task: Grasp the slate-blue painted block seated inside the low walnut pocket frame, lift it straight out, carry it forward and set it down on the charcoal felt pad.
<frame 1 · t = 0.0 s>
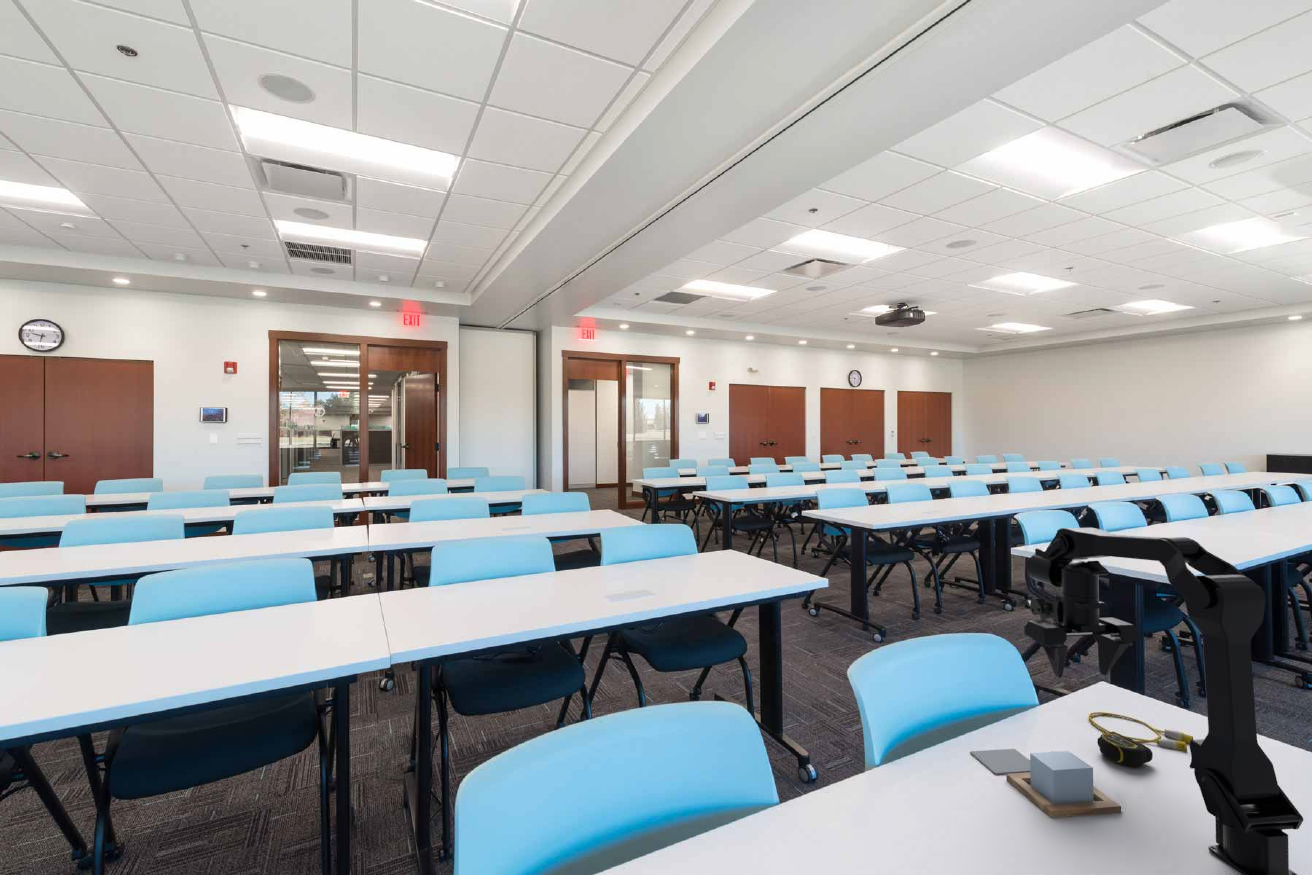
hand: (1080, 675, 107), 15 cm above the table, fingers open, 9 cm apart
pocket frame: (1061, 794, 94), on the table
part block: (1061, 795, 94), resting in pocket frame
tape measure: (1122, 759, 105), on the table
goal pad: (1005, 761, 104), on the table
extension cord: (1136, 735, 114), on the table
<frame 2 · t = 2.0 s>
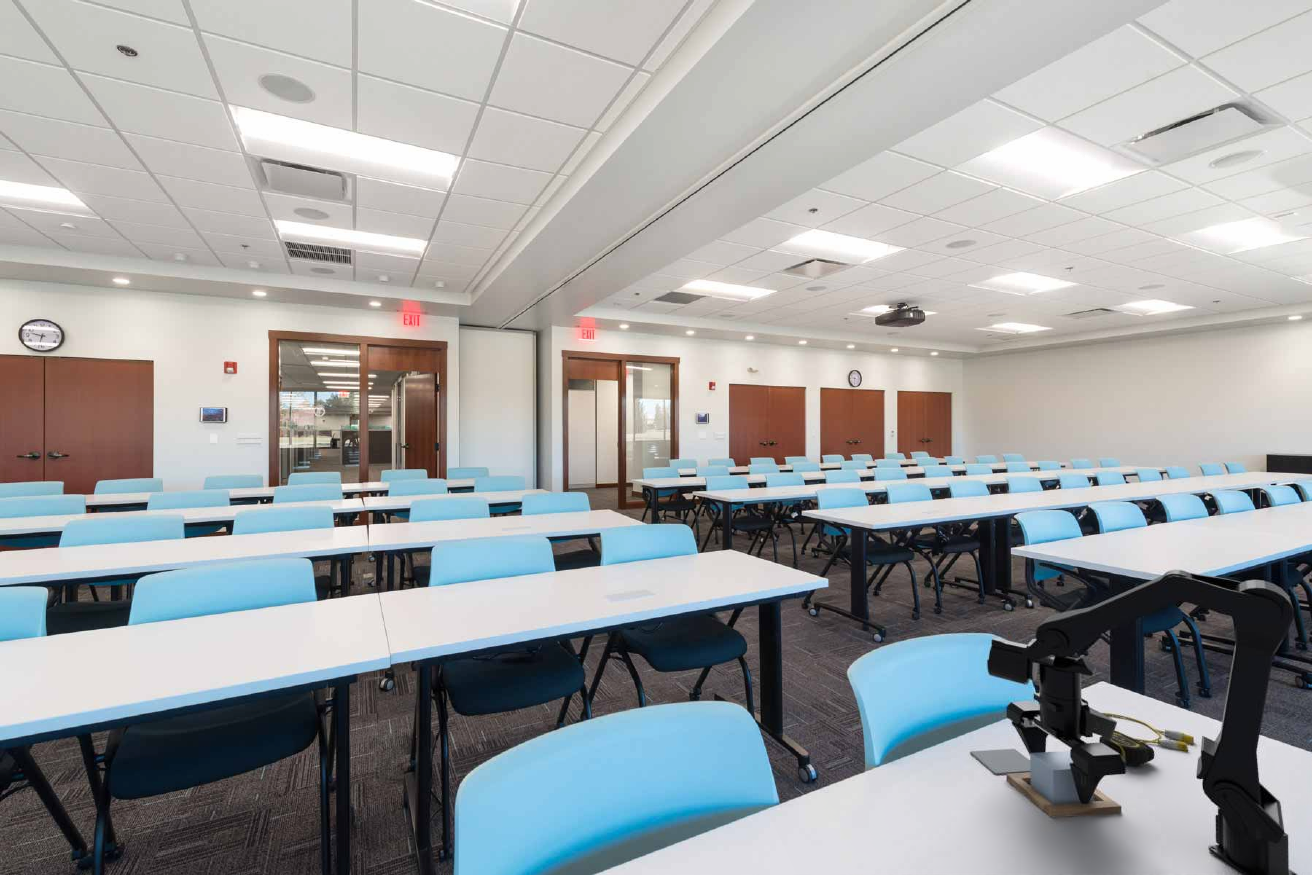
hand: (1061, 785, 94), 2 cm above the table, fingers open, 9 cm apart
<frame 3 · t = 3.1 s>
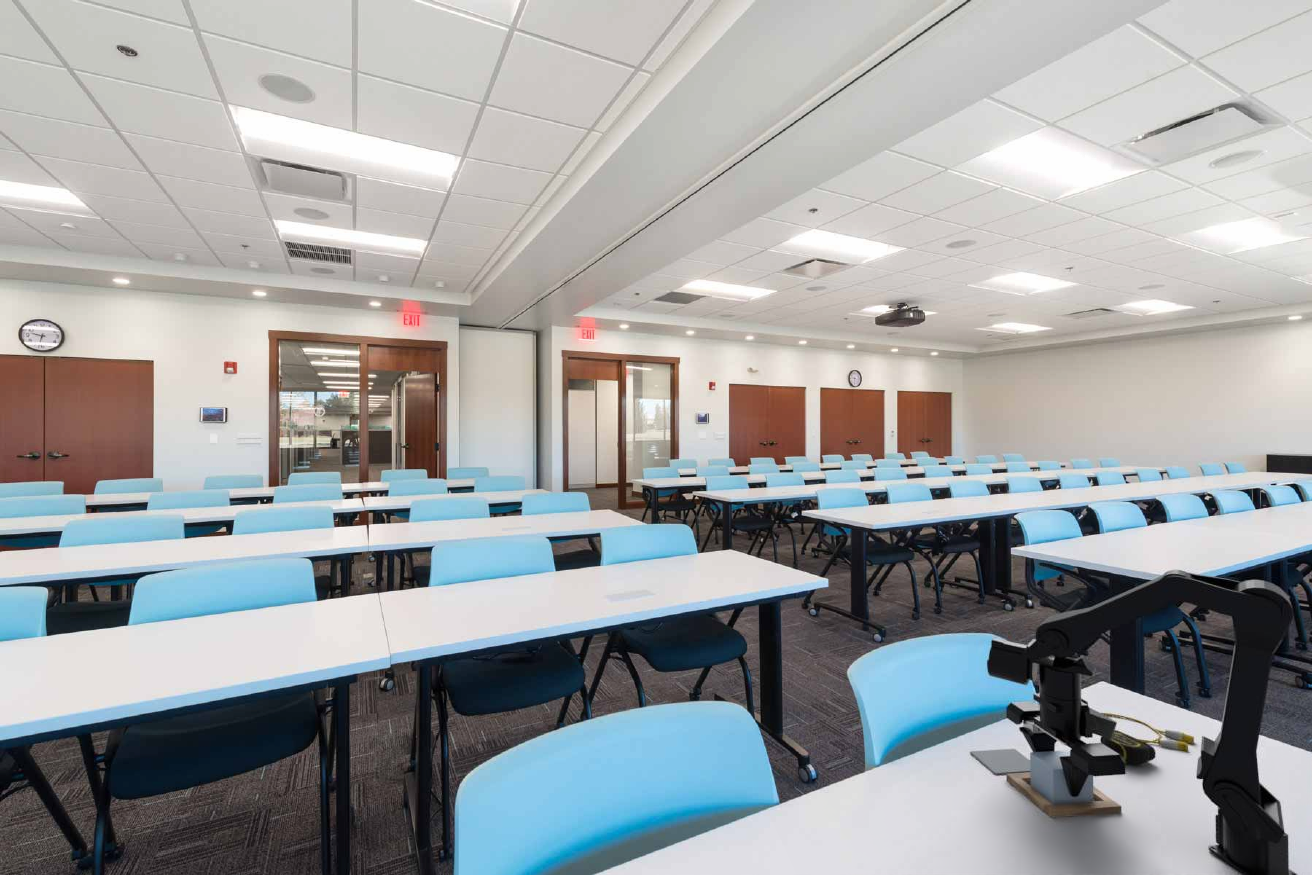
hand: (1061, 785, 94), 2 cm above the table, fingers closed on part block, 5 cm apart
part block: (1061, 795, 94), resting in pocket frame, touching gripper
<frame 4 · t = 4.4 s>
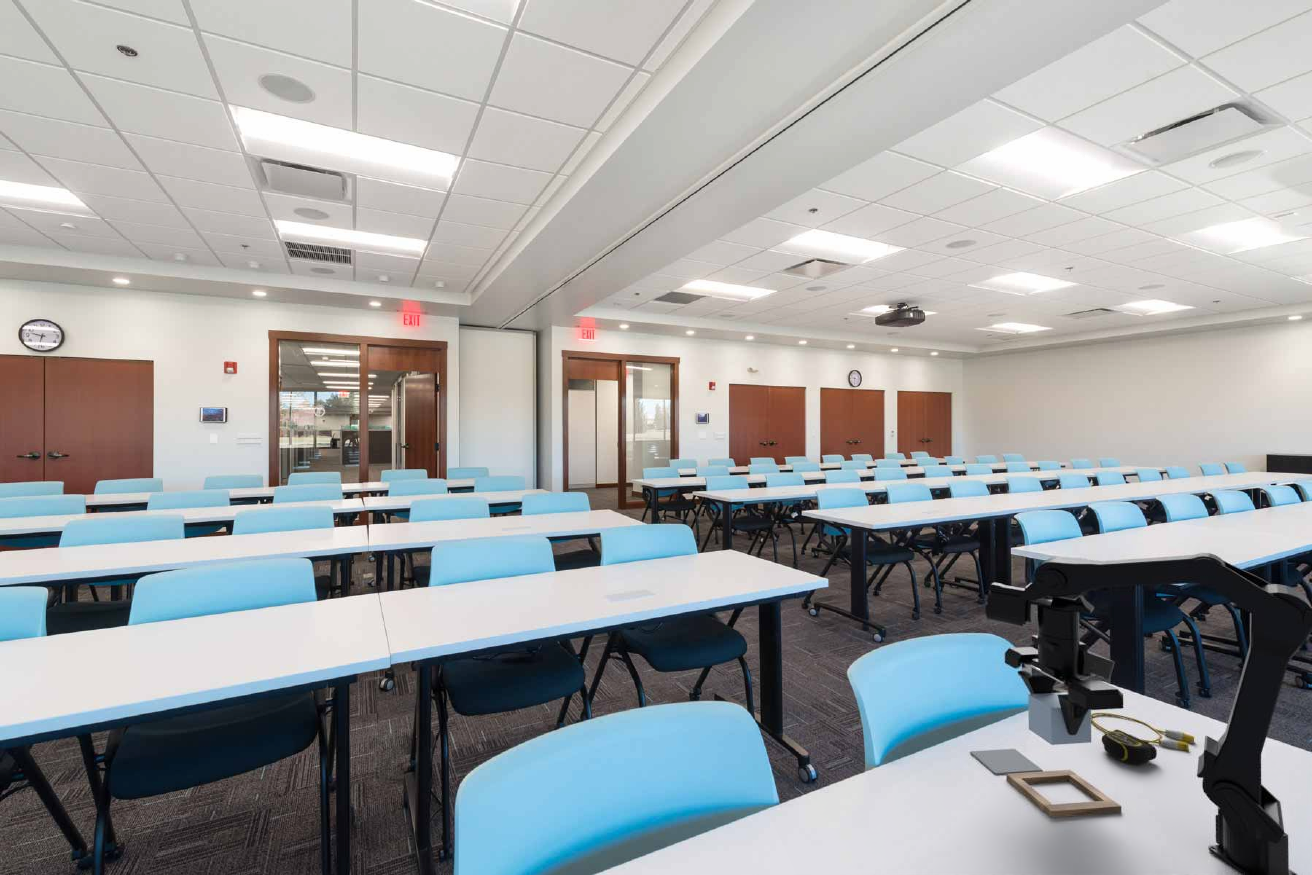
hand: (1059, 726, 95), 11 cm above the table, fingers closed on part block, 5 cm apart
part block: (1059, 735, 95), point 10 cm above the table, touching gripper
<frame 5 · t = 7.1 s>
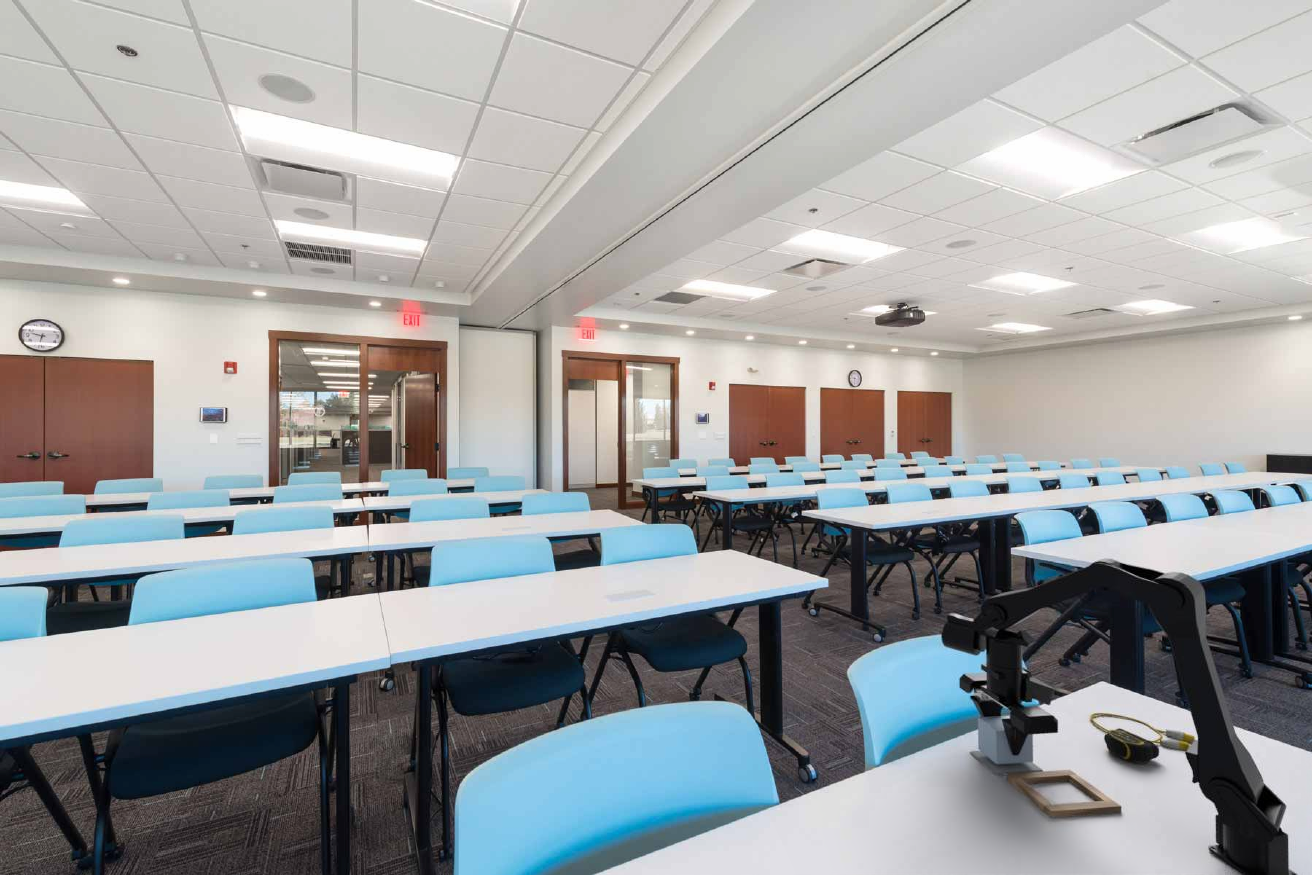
hand: (1005, 747, 104), 3 cm above the table, fingers closed on part block, 5 cm apart
part block: (1005, 755, 104), point 1 cm above the table, touching gripper
when the fingers open (3 cm above the table, at t = 7.4 s): part block stays where it is, resting on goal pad.
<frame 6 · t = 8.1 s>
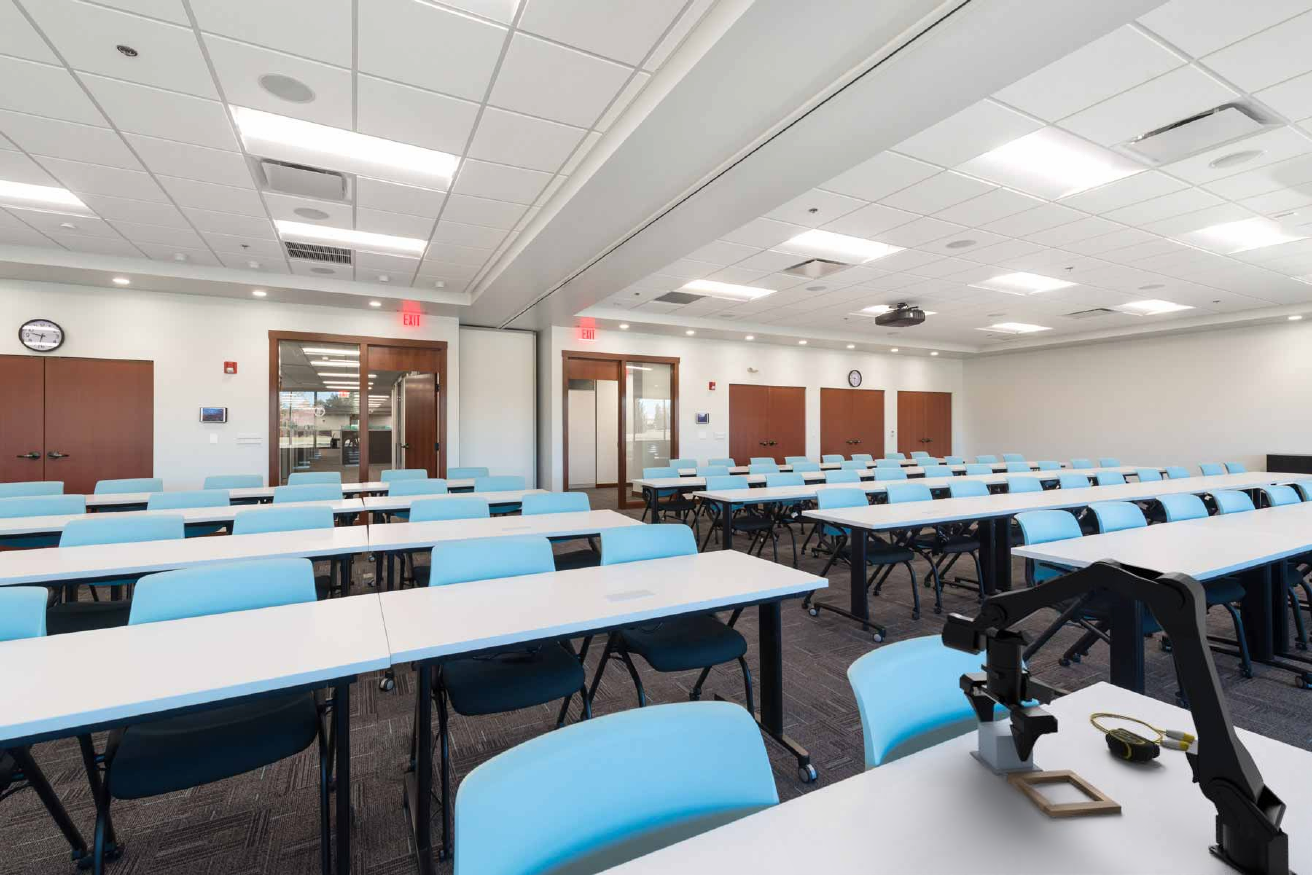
hand: (1005, 746, 104), 3 cm above the table, fingers open, 9 cm apart
part block: (1005, 760, 104), resting on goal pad
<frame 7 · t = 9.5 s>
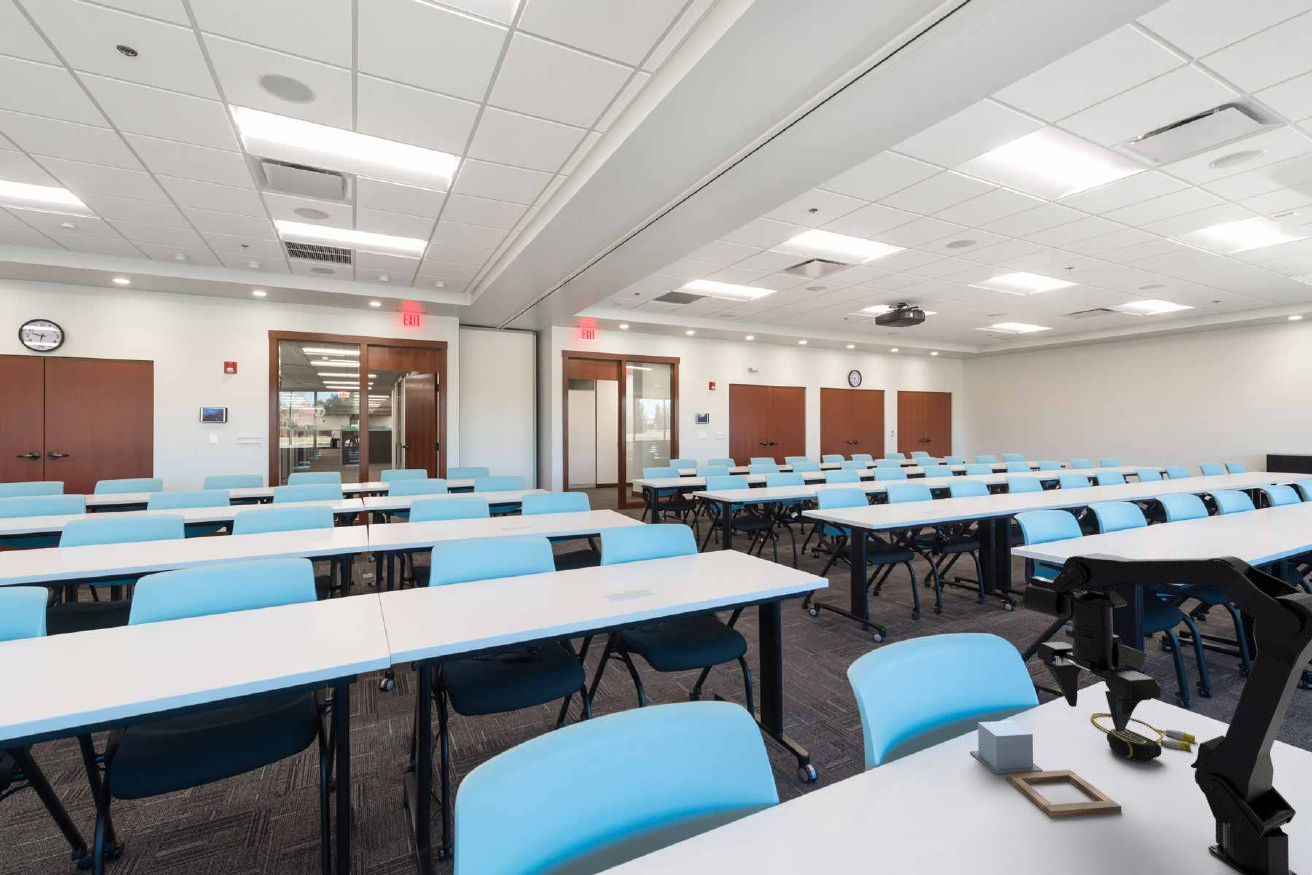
hand: (1095, 718, 97), 12 cm above the table, fingers open, 9 cm apart
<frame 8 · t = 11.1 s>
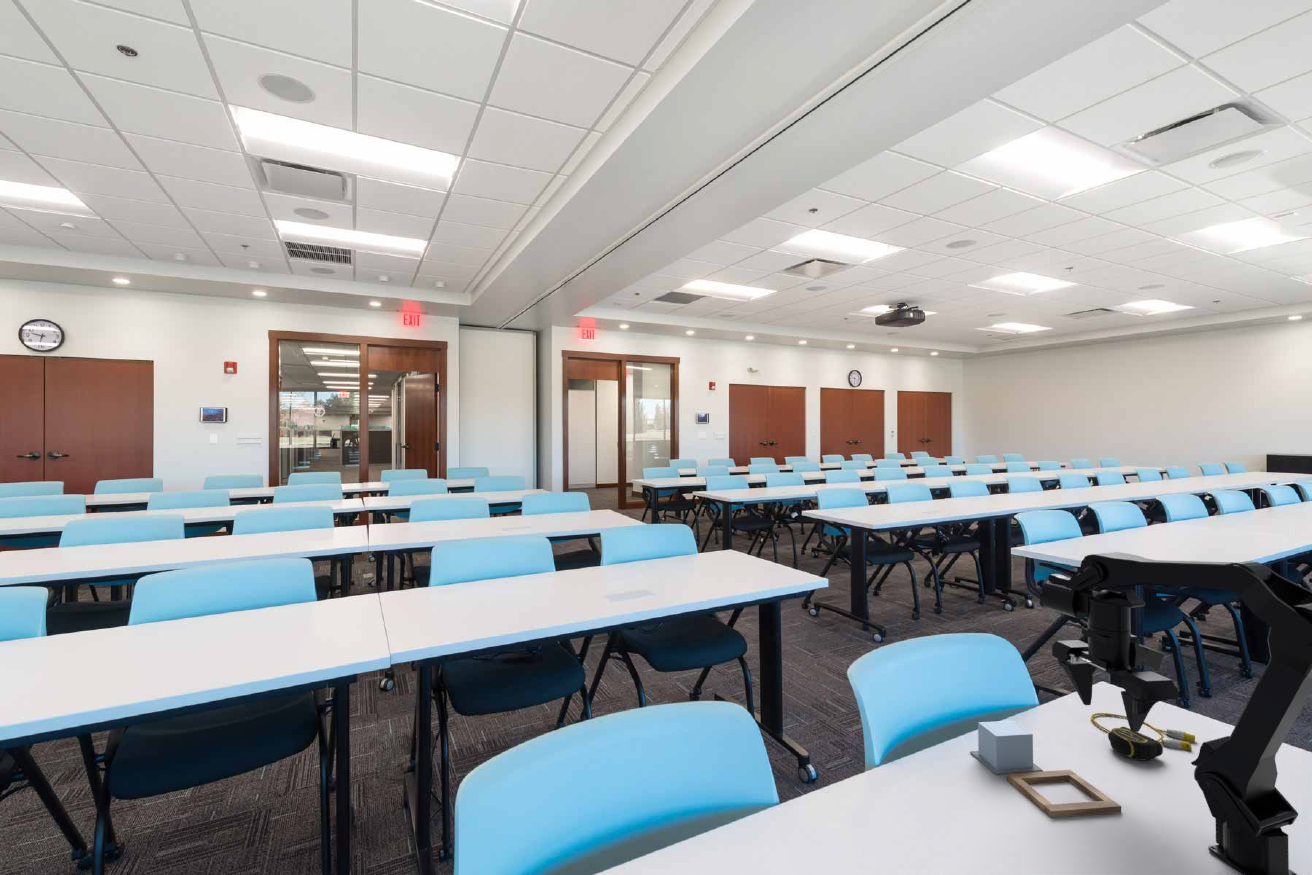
hand: (1109, 717, 96), 12 cm above the table, fingers open, 9 cm apart
at the end: part block inside the target area on the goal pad (0.0 cm from its centre), point 0.3 cm above the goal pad's base; the gripper is holding nothing; part block touching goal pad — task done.
